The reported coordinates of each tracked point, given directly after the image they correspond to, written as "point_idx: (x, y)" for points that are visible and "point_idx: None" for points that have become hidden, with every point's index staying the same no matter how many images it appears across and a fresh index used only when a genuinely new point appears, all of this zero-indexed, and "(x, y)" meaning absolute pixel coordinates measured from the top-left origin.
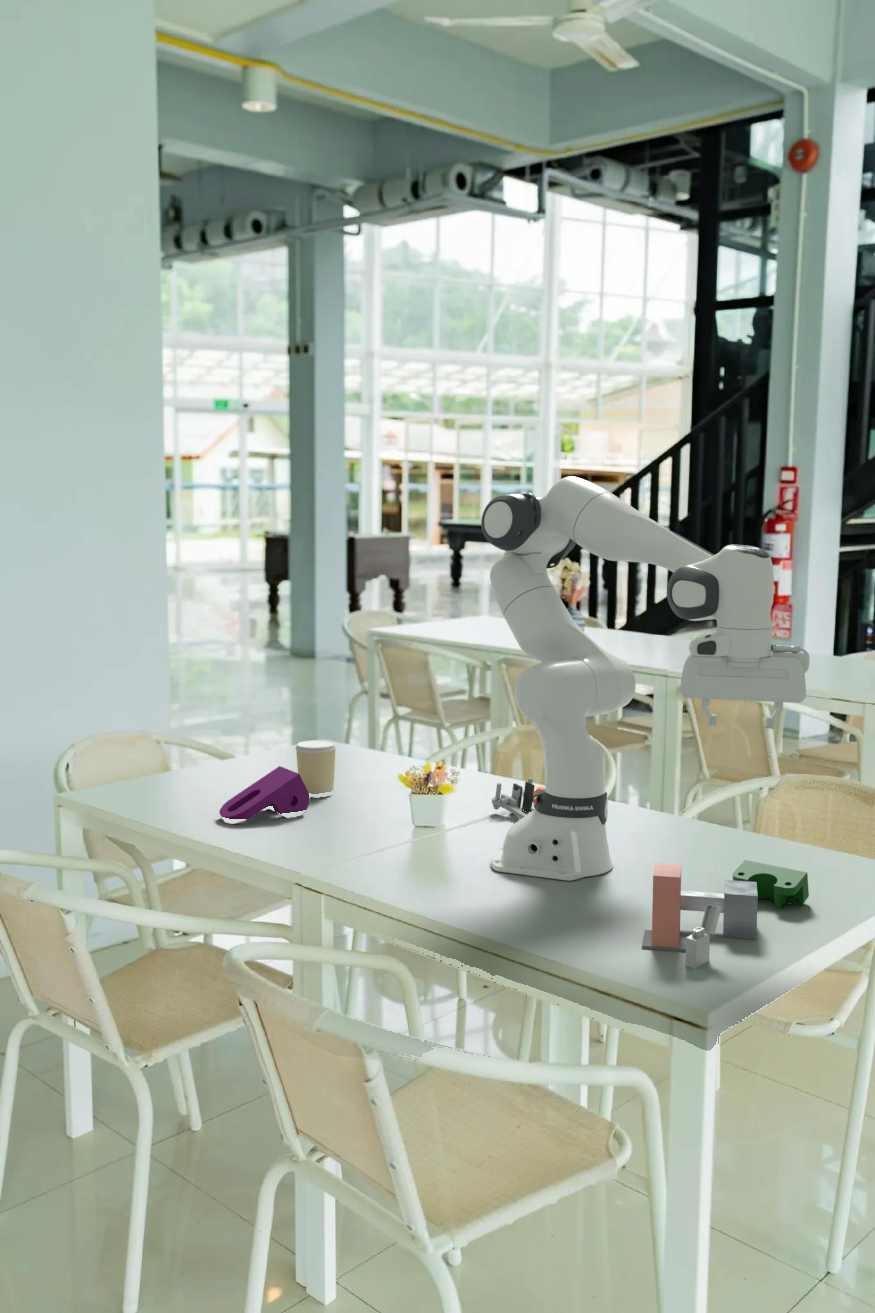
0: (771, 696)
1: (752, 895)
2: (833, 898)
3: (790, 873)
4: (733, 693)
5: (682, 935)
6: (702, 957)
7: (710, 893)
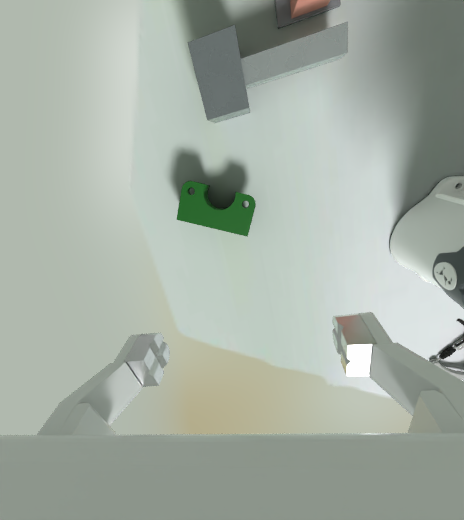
0: (41, 471)
1: (195, 40)
2: (171, 239)
3: (193, 214)
4: (283, 495)
5: (286, 9)
6: None
7: (262, 73)
